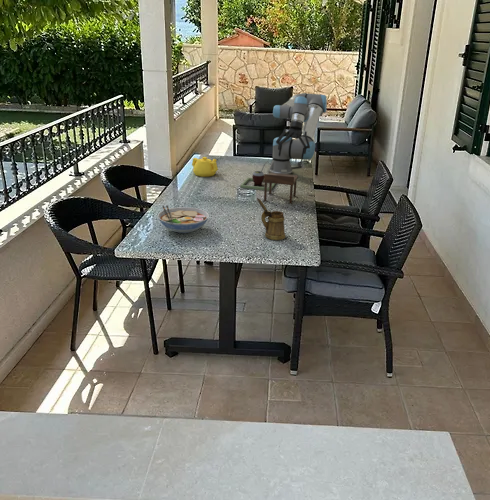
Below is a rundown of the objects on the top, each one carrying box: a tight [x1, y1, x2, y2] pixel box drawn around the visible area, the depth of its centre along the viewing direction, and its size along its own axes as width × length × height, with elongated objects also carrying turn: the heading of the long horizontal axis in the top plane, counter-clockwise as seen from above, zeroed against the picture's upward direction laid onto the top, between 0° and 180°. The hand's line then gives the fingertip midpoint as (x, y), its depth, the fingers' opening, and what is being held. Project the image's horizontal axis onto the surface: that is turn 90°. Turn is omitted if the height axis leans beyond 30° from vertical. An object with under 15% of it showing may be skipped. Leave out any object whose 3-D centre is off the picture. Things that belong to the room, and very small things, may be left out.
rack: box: [263, 172, 299, 205], centre depth 277 cm, size 16×16×15 cm
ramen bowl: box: [157, 204, 210, 234], centre depth 227 cm, size 25×23×8 cm
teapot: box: [191, 156, 219, 178], centre depth 319 cm, size 20×18×11 cm
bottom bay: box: [240, 177, 276, 192], centre depth 302 cm, size 18×18×2 cm
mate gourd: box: [251, 160, 269, 187], centre depth 300 cm, size 8×8×15 cm
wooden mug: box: [256, 197, 286, 241], centre depth 223 cm, size 9×14×18 cm, turn 94°
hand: (290, 157), depth 297 cm, fingers open, 13 cm apart
